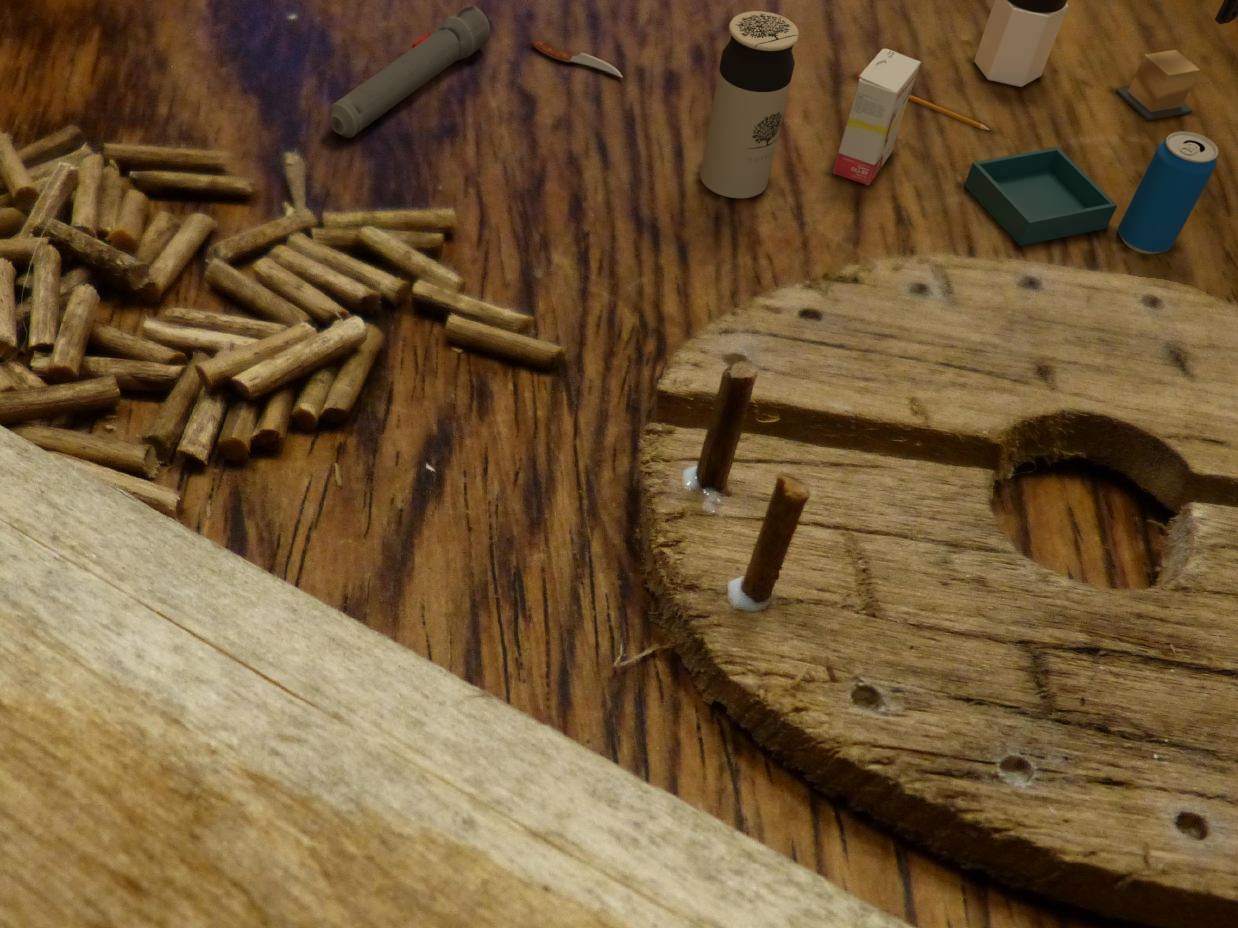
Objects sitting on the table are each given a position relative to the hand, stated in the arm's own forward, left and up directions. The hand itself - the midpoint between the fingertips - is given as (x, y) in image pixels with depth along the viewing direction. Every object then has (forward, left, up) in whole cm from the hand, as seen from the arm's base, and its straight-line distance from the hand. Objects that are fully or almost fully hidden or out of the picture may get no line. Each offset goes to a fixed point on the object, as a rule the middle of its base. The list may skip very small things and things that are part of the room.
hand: (1200, 4), depth 156 cm
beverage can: (-25, +20, -13) cm, 34 cm away
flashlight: (+27, +93, -13) cm, 98 cm away
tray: (-15, +29, -13) cm, 35 cm away
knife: (+28, +70, -13) cm, 76 cm away
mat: (0, 0, -13) cm, 13 cm away
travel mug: (-1, +62, -13) cm, 63 cm away
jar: (+12, +15, -13) cm, 23 cm away
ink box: (-2, +45, -13) cm, 47 cm away
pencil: (+8, +30, -13) cm, 34 cm away
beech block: (0, 0, -12) cm, 12 cm away
